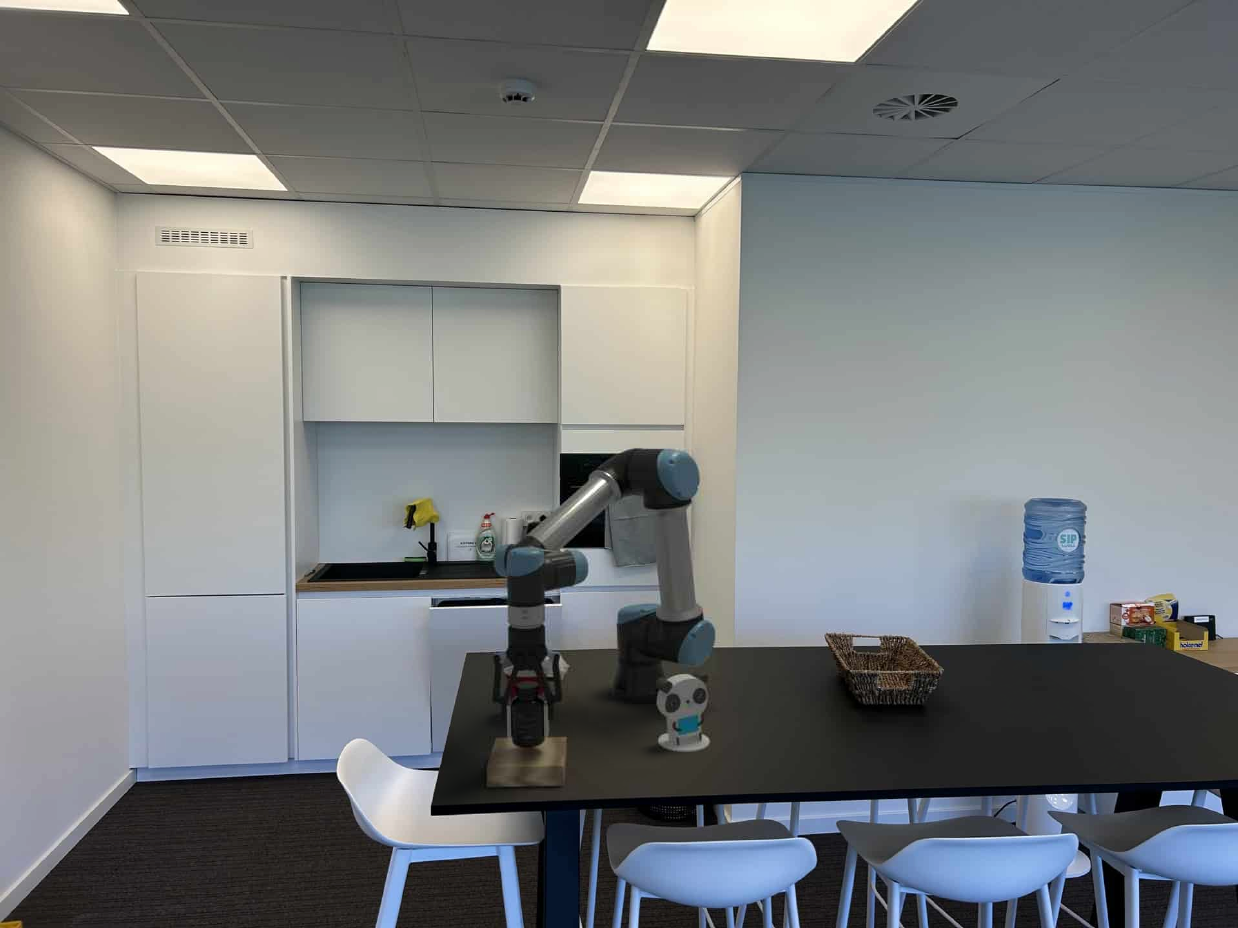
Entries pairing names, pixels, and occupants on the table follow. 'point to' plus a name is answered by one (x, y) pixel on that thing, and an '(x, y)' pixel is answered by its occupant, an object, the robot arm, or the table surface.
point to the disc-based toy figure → (683, 711)
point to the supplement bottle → (527, 716)
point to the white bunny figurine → (562, 667)
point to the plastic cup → (523, 678)
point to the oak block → (527, 763)
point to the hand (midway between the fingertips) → (528, 734)
